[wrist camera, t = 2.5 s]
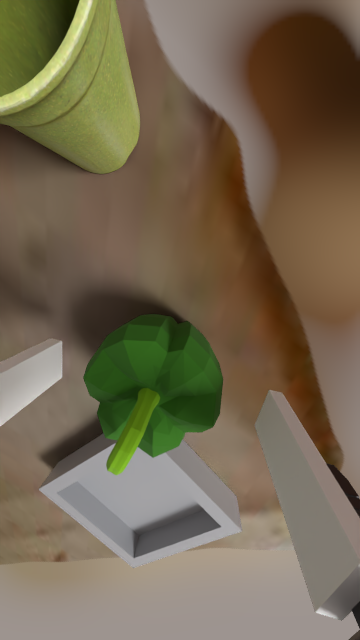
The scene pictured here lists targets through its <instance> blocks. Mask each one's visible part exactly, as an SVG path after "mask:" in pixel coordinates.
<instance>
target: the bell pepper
mask: <svg viewBox="0 0 360 640" xmlns="http://www.w3.org/2000/svg"><path fill="white" fill-rule="evenodd" d="M83 379H84V381H85V384H86V386H87V389H88V392H89V394H90V396H92V397H93V398H95V399H96V400H98V401H99V402H100V405H99V408H98V412H97V415H98V418H99V421H100V424H101V427H102V430H103V433H104V436H105V438H107V439H112V440H117V442H116V444H115V446H114V448H113V449H112V451H111V453H110V455H109V457H108V460H107V463H106V467H107V471H109V472H112V473H113V474H114V475H118V474H120V473H122V472H123V471H124V470H125V468H126V466H127V465H128V463H129V461H130V460H131V458H132V456H133V454H134V453H135V451H136V449H137V447H138V448H140V449H141V450H142V451H144V452H145V453H147V454H148V455H149V456H151V457H152V458H154V457H156V456H158V455H161V454H163V453H165V452H167V451H170V450H172V449H174V448H176V447H179V445H180V443H181V441H182V439H183V437H184V435H185V432H203V431H205V430H208V429H210V428H212V427H213V426H214V424H215V422H216V420H217V418H218V416H219V414H220V406H221V396H222V386H223V377H222V373H221V369H220V365H219V362H218V360H217V358H216V356H215V354H214V352H213V350H212V348H211V346H210V344H209V342H208V341H207V340H206V338H205V337H204V336H203V334H202V333H200V332H199V331H198V330H197V329H196V328H195V327H194V326H193V325H192V324H191V323H190V322H188V321H185V322H182V323H179V324H178V323H177V322H176V321H175V320H174V319H173V318H172V317H170V316H164V315H158V314H147V315H141V316H138V317H137V318H135V319H133V320H131V321H129V322H128V323H126V324H124V325H122V326H120V327H119V328H118V329H116V330H115V331H113V332H112V333H110V334H109V335H107V337H106V338H105V340H104V341H103V343H102V344H101V345H100V347H99V348H98V350H97V351H96V353H95V354H94V356H93V357H92V359H91V360H90V362H89V363H88V365H87V368H86V371H85V374H84V377H83Z"/></svg>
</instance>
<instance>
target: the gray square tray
mask: <svg viewBox="0 0 360 640" xmlns="http://www.w3.org/2000/svg"><path fill="white" fill-rule="evenodd" d="M116 442H117V440H112V439H107V438H105V436H104V433H103V434H102V435H100V436H98V437H97V438H95V439H94V440H92V441H91V442H89V443H87V444H86V445H84V446H83V447H81V448H80V449H78V450H76V451H75V452H73V453H72V454H70V455H69V456H67V457H66V458H64V459H62V460H61V461H59V462H58V463H57V465H56V466H55V467H54V469H53V470H52V471H51V473H50V474H49V476H48V477H47V478H46V480H45V481H44V483H43V484H42V485H41V487H40V488H39V490H40V491H41V492H42V493H44V494H45V495H46V496H47V497H48V498H50V499H51V500H52V501H53V502H54V503H56V504H57V505H58V506H59V507H60V508H62V509H63V510H64V511H65V512H66V513H68V514H69V515H70V516H71V517H72V518H74V519H75V520H76V521H77V522H78V523H80V524H81V525H82V526H83V527H84V528H86V529H87V530H88V531H89V532H90V533H92V534H93V535H94V536H95V537H96V538H98V539H99V540H100V541H101V542H102V543H104V544H105V545H106V546H107V547H108V548H110V549H111V550H112V551H113V552H114V553H116V554H117V555H118V556H119V557H120V558H122V559H123V560H124V561H125V562H126V563H128V564H129V565H130V566H131V567H133V568H135V567H138V566H141V565H143V564H147V563H149V562H152V561H155V560H159V559H161V558H164V557H167V556H170V555H173V554H176V553H179V552H182V551H185V550H188V549H191V548H194V547H197V546H200V545H203V544H206V543H209V542H212V541H215V540H218V539H221V538H224V537H226V536H229V535H232V534H235V533H238V532H241V531H242V527H241V521H240V514H239V508H238V502H237V496H236V495H235V494H234V493H233V492H232V491H231V490H230V489H229V488H228V487H227V486H226V485H225V484H224V483H223V482H222V480H221V479H220V478H219V477H218V476H217V475H216V474H215V473H214V472H213V471H212V470H211V469H210V468H209V467H208V466H207V465H206V463H205V462H204V461H203V460H202V459H201V458H200V457H199V456H198V455H197V454H196V453H195V452H194V451H193V450H192V449H191V448H190V446H189V445H188V444H187V443H186V442H185V441H184V440H183V439H182V441H181V443H180V445H179V447H176V448H174V449H172V450H170V451H167V452H165V453H163V454H161V455H158V456H156V457H154V458H152V457H151V456H149V455H148V454H147V453H145V452H144V451H142V450H141V449H140V448H138V447H137V449H136V451H135V453H134V454H133V456H132V458H131V460H130V461H129V463H128V465H127V466H126V468H125V470H124V471H123V472H122V473H120V474H118V475H114V474H113V473H112V472H109V471H107V467H106V463H107V460H108V457H109V455H110V453H111V451H112V449H113V448H114V446H115V444H116Z"/></svg>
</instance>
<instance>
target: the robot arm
mask: <svg viewBox="0 0 360 640" xmlns="http://www.w3.org/2000/svg"><path fill="white" fill-rule="evenodd" d="M61 378H62V341H61V340H57V339H52V338H50V339H48V340H46V341H44V342H42V343H40V344H37V345H35V346H33V347H31V348H29V349H27V350H25V351H23V352H21V353H19V354H16V355H14V356H12V357H10V358H8V359H6V360H4V361H2V362H0V426H1V425H3V424H4V423H5V422H6V421H8V420H9V419H10V418H11V417H13V416H14V415H15V414H17V413H18V412H19V411H20V410H22V409H23V408H24V407H25V406H27V405H28V404H29V403H30V402H32V401H33V400H34V399H35V398H37V397H38V396H39V395H40V394H42V393H43V392H44V391H46V390H47V389H48V388H49V387H51V386H52V385H53V384H54V383H56V382H57V381H58V380H59V379H61ZM255 428H256V431H257V434H258V437H259V440H260V443H261V447H262V450H263V453H264V456H265V459H266V462H267V465H268V468H269V471H270V474H271V477H272V480H273V484H274V487H275V490H276V493H277V496H278V499H279V502H280V505H281V508H282V511H283V514H284V518H285V521H286V524H287V527H288V530H289V533H290V536H291V539H292V542H293V545H294V548H295V551H296V554H297V557H298V561H299V564H300V567H301V570H302V573H303V576H304V579H305V582H306V585H307V588H308V591H309V595H310V598H311V601H312V604H313V607H314V610H315V612H316V613H319V614H322V615H325V616H329V617H332V618H335V619H338V620H343V619H344V618H345V617H346V616H347V615H348V614H349V613H350V612H351V611H352V612H353V614H354V616H355V619H356V621H357V623H358V626H359V628H360V499H359V496H358V494H357V493H356V491H355V490H354V489H353V487H352V486H351V484H350V483H349V481H348V480H347V479H346V478H345V477H344V476H343V475H342V473H341V472H340V471H339V470H338V469H337V468H336V467H335V466H334V465H330V464H326V463H325V461H324V460H323V458H322V456H321V455H320V453H319V452H318V450H317V448H316V447H315V445H314V444H313V442H312V440H311V439H310V437H309V436H308V434H307V432H306V431H305V429H304V428H303V426H302V424H301V423H300V421H299V419H298V418H297V416H296V415H295V413H294V411H293V410H292V408H291V407H290V405H289V403H288V402H287V400H286V399H285V397H284V395H283V394H282V393H280V392H276V391H271V390H269V391H268V394H267V396H266V399H265V401H264V404H263V406H262V409H261V411H260V413H259V416H258V418H257V421H256V423H255ZM349 640H360V630H359V631H358V632H357V633H356V634H354V635H353V636H352V637H351V638H350V639H349Z"/></svg>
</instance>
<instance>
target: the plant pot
mask: <svg viewBox="0 0 360 640" xmlns="http://www.w3.org/2000/svg"><path fill="white" fill-rule="evenodd" d="M0 124H4V125H9V126H11V127H13V128H14V129H16V130H18V131H20V132H21V133H23V134H25V135H26V136H28V137H30V138H32V139H33V140H35V141H37V142H38V143H40V144H42V145H44V146H45V147H47V148H49V149H51V150H52V151H54V152H56V153H57V154H59V155H61V156H62V157H64V158H66V159H68V160H69V161H71V162H73V163H74V164H76V165H78V166H79V167H81V168H83V169H85V170H87V171H89V172H93V173H98V174H105V173H110V172H113V171H115V170H117V169H119V168H120V167H122V166H123V165H124V164H125V162H126V160H127V158H128V157H129V155H130V153H131V152H132V150H133V149H134V147H135V146H136V144H137V141H138V137H139V130H140V115H139V109H138V104H137V99H136V94H135V89H134V85H133V81H132V76H131V72H130V68H129V63H128V58H127V54H126V49H125V44H124V39H123V35H122V30H121V25H120V20H119V16H118V11H117V6H116V1H115V0H0Z"/></svg>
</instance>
